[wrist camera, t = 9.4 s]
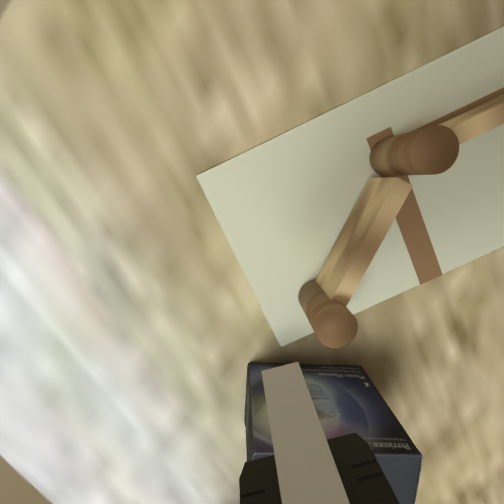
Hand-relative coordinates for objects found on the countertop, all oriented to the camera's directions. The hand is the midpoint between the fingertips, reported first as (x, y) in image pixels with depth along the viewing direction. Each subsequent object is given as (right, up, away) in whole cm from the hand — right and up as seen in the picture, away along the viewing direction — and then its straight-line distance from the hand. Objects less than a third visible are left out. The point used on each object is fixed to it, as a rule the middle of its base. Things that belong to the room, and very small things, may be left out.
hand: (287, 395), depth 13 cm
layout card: (+10, +11, +14) cm, 20 cm away
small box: (+3, -7, +17) cm, 19 cm away
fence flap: (+6, +6, +14) cm, 16 cm away
